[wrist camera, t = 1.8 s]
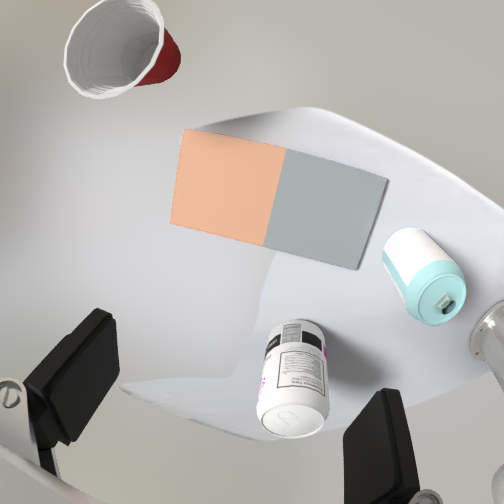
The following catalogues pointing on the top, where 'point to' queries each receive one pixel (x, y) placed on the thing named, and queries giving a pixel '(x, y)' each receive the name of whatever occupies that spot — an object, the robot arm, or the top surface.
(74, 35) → the plastic cup
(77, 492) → the robot arm
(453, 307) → the can
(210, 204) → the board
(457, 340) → the top surface
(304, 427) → the supplement can
